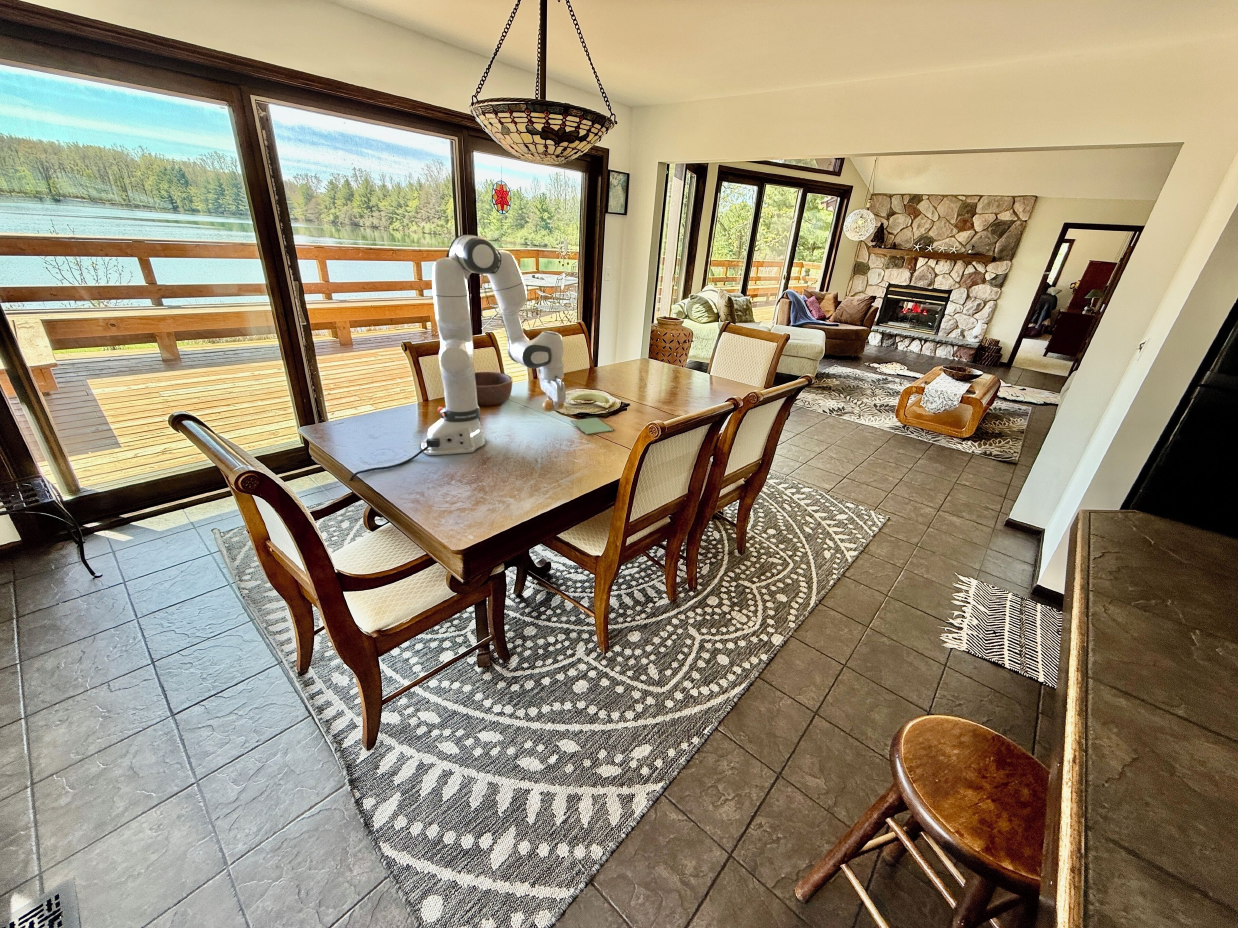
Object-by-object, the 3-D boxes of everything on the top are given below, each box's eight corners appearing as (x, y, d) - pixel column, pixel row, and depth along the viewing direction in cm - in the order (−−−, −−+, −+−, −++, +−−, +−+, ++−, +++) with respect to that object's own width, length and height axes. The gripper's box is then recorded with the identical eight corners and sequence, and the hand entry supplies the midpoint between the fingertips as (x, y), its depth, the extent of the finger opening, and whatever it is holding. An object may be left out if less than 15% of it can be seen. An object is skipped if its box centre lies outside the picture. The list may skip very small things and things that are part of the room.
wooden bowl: (463, 391, 235) (461, 371, 231) (515, 392, 238) (514, 372, 234) (453, 408, 213) (451, 386, 209) (510, 409, 216) (509, 387, 211)
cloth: (586, 434, 193) (586, 433, 193) (571, 421, 206) (571, 420, 205) (613, 430, 198) (613, 430, 198) (597, 418, 211) (597, 417, 211)
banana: (588, 385, 230) (617, 400, 218) (590, 394, 234) (617, 410, 222) (566, 396, 223) (594, 413, 212) (568, 406, 227) (595, 423, 215)
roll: (546, 414, 191) (546, 403, 189) (540, 411, 194) (540, 400, 192) (565, 409, 196) (565, 399, 194) (559, 407, 199) (559, 396, 197)
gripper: (569, 379, 181) (569, 413, 187) (551, 366, 198) (551, 398, 204) (554, 380, 179) (554, 415, 185) (536, 367, 195) (537, 400, 201)
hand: (553, 406), depth 194 cm, fingers closed on roll, 5 cm apart
